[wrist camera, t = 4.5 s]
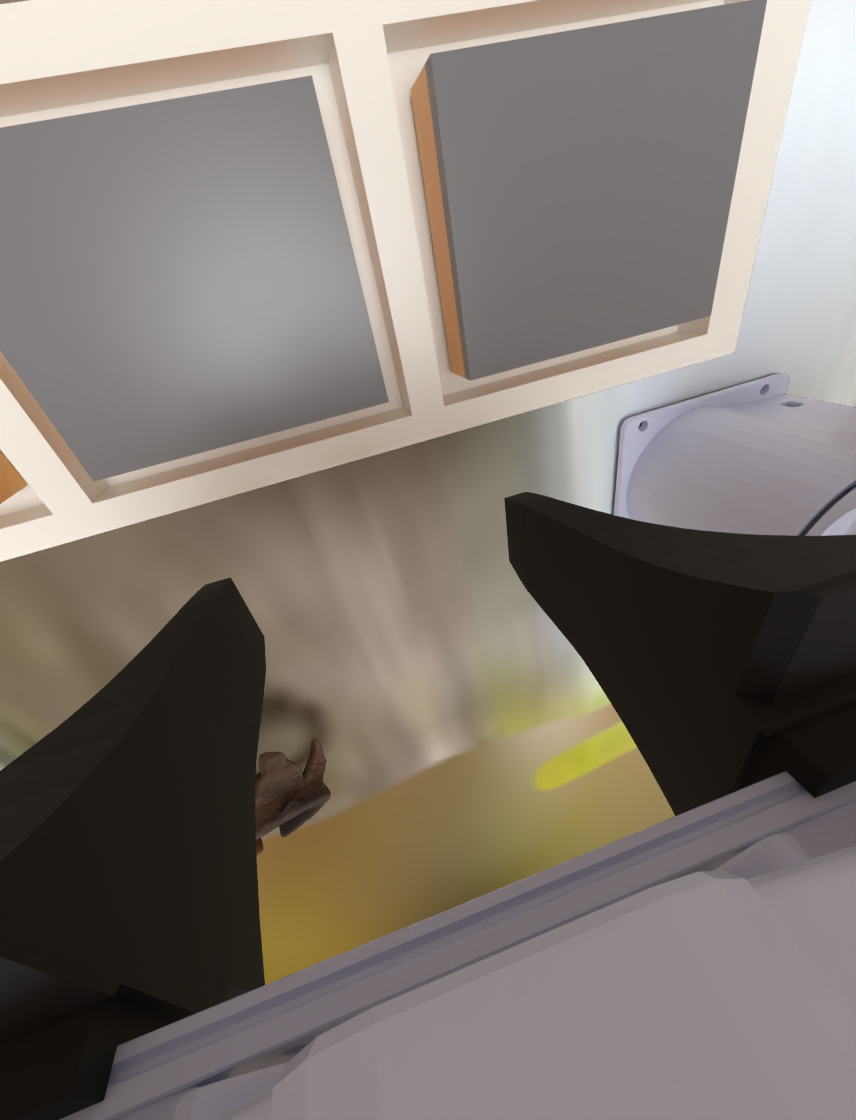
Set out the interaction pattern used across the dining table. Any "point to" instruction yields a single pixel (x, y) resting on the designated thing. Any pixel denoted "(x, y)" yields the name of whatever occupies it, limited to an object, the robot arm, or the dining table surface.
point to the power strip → (370, 210)
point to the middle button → (181, 275)
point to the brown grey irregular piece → (288, 792)
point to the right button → (582, 180)
